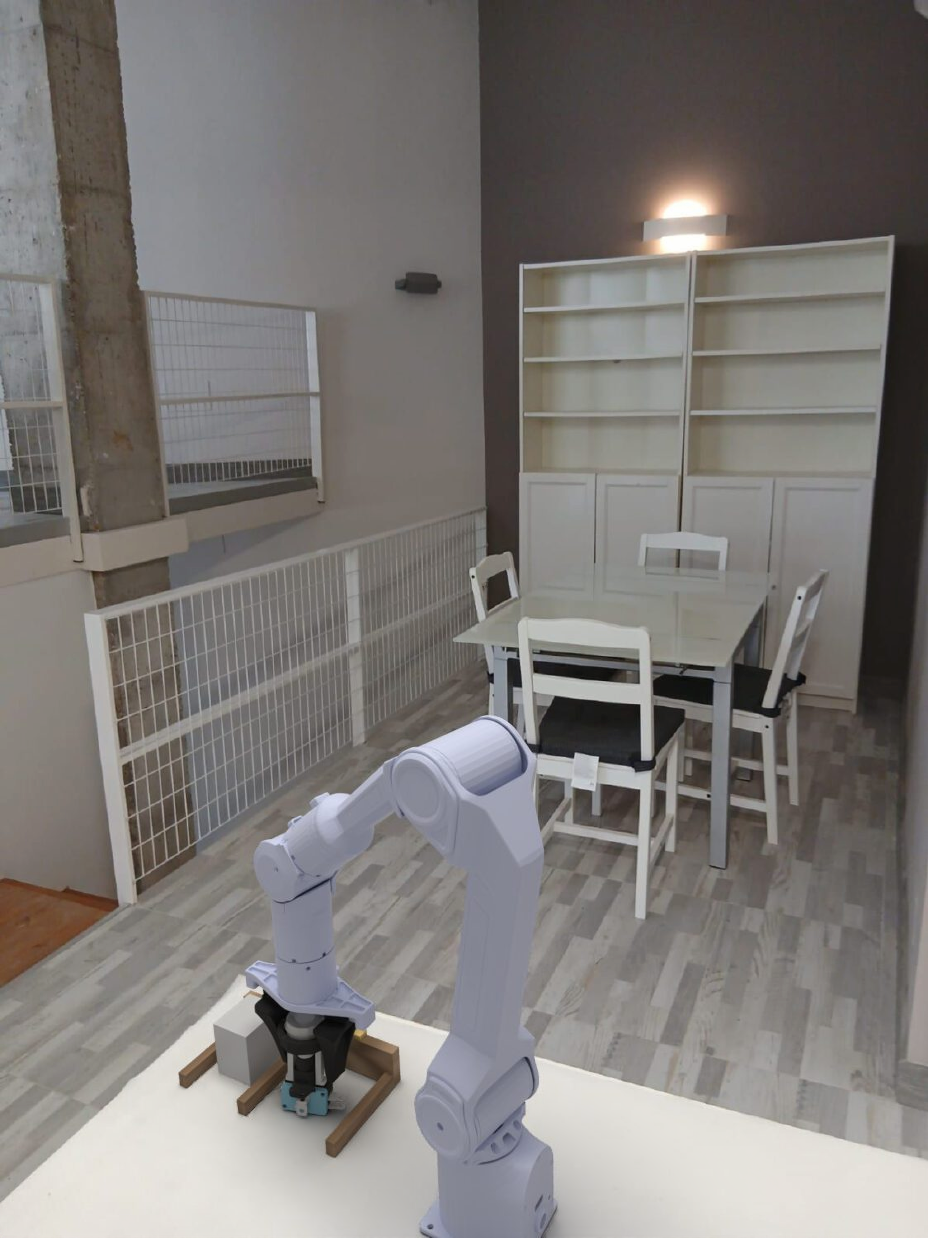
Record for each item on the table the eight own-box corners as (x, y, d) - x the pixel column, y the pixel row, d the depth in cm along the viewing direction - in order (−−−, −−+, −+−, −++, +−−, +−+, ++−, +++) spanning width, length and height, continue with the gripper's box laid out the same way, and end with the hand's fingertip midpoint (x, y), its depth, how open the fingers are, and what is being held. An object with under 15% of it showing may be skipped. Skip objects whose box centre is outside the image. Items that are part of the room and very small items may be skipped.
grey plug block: (285, 1054, 100) (281, 1006, 98) (250, 1087, 95) (245, 1037, 94) (254, 1041, 102) (249, 993, 100) (218, 1073, 97) (213, 1023, 96)
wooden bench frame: (400, 1080, 95) (398, 1042, 94) (334, 1158, 86) (331, 1116, 85) (253, 1021, 105) (250, 985, 104) (179, 1085, 96) (175, 1047, 94)
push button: (353, 1094, 94) (352, 1006, 92) (336, 1132, 89) (335, 1040, 87) (291, 1084, 95) (289, 997, 93) (271, 1121, 90) (268, 1030, 88)
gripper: (390, 944, 89) (396, 1064, 92) (274, 907, 96) (284, 1020, 99) (346, 985, 83) (355, 1112, 86) (226, 942, 90) (238, 1061, 93)
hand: (314, 1066), depth 92 cm, fingers closed on push button, 5 cm apart
